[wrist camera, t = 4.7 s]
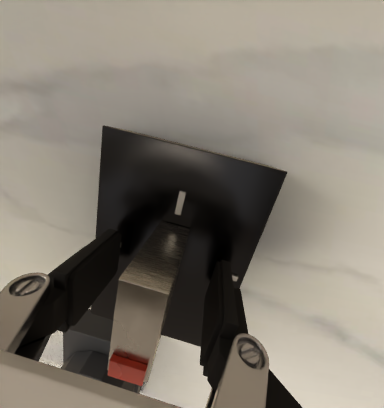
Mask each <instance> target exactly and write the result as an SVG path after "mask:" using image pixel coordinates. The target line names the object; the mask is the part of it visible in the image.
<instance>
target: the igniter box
mask: <svg viewBox="0 0 384 408" xmlns="http://www.w3.org/2000/svg"><path fill="white" fill-rule="evenodd" d="M112 328H113V320H111V319H108V318H105V317H102V316H98V315H95V314H92V313H91V310H87V311H86V313H85V314H84V315H83V316H82V318H81V319H80V320H79V322H78V323H77V324H76V325H75V326H71V327H70V328H69V329H68V331H67V332H66V333H65V332H63V366H62V367H61V369H63V370H66V371H70V372H73V373H76V374H79V375H82V376H85V377H88V378H91V379H95V380H98V381H101V382H104V383H107V384H110V385H113V386H116V387H119V388H123V389H126V390H129V391H132V392H135V393H138V394H139V392H140V388H141V386H139V385H136V384H133V383H130V382H126V381H123V380H120V379H117V378H114V377H111V376H108V370H107V369H108V360H109V352H110V344H111V336H112Z"/></svg>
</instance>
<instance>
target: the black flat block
mask: <svg viewBox="0 0 384 408" xmlns="http://www.w3.org/2000/svg"><path fill="white" fill-rule="evenodd" d="M286 175H287V172H286V171H283V170H280V169H277V168H274V167H271V166H268V165H264V164H260V163H256V162H252V161H248V160H244V159H240V158H236V157H232V156H228V155H224V154H220V153H216V152H212V151H208V150H204V149H200V148H196V147H192V146H188V145H184V144H180V143H176V142H172V141H168V140H165V139H161V138H157V137H153V136H149V135H145V134H141V133H137V132H133V131H129V130H124V129H119V128H114V127H109V126H103V130H102V146H101V162H100V178H99V194H98V210H97V226H96V238H97V237H99V236H100V235H101V234H103V233H104V232H105V231H107V230H108V229H113V230H117V231H119V234H121V245H120V253H119V262H118V269H117V272H116V274H115V276H114V277H113V278H112V280H111V281H110V282H109V283H108V285H107V286H106V287H105V288H104V290H103V291H102V292H101V294H100V295H99V296H98V297H97V299H96V300H95V301H94V302H93V304H92V306H91V313H92V314H95V315H98V316H102V317H105V318H108V319H111V320H113V319H114V311H115V303H116V295H117V287H118V279H119V278H120V276H121V275H122V274H123V272H124V271H125V270H126V268H127V267H128V266H129V264H130V263H131V261H132V260H133V259H134V257H135V256H136V255H137V253H138V252H139V251H140V249H141V248H142V246H143V245H144V244H145V242H146V241H147V240H148V238H149V237H150V236H151V234H152V233H153V232H154V230H155V229H156V227H157V226H158V225H159V223H160V222H161V221H163V222H167V223H170V224H174V225H178V226H181V227H185V228H189V229H190V230H189V234H188V238H187V242H186V245H185V249H184V253H183V257H182V261H181V265H180V269H179V273H178V276H177V280H176V284H175V288H174V292H173V295H172V299H171V302H170V306H169V309H168V313H167V316H166V320H165V323H164V326H163V330H162V333H161V335H164V336H168V337H171V338H174V339H177V340H181V341H184V342H187V343H191V344H194V345H197V346H201V340H202V326H203V312H204V299H205V295H206V292H207V289H208V286H209V283H210V280H211V277H212V274H213V271H214V268H215V265H216V262H217V261H219V262H220V260H224V261H228V262H230V263H231V270H232V278H233V285H234V287H235V288H240V285H241V283H242V281H243V278H244V276H245V273H246V271H247V269H248V266H249V264H250V261H251V259H252V256H253V254H254V252H255V249H256V247H257V244H258V242H259V240H260V237H261V235H262V232H263V230H264V228H265V225H266V223H267V220H268V218H269V215H270V213H271V211H272V208H273V206H274V203H275V201H276V199H277V196H278V194H279V191H280V189H281V187H282V184H283V182H284V179H285V177H286Z"/></svg>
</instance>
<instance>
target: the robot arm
mask: <svg viewBox="0 0 384 408" xmlns="http://www.w3.org/2000/svg"><path fill="white" fill-rule="evenodd" d="M120 245H121V234H119V231H117V230H113V229H108V230H107V231H105V232H104V233H103V234H101V235H100V236H99V237H97V238H96V239H95V240H93V241H92V242H91V243H90V244H88V245H87V246H85V247H83V248H82V249H81V250H79V251H78V252H77V253H75V254H74V255H73V256H71V257H70V258H69V259H68V260H66V261H65V262H64V263H62V264H61V265H60V266H58V267H57V268H56V269H54V270H53V271H52V272H50V273H49V274H48V275H46V274H44V273H29V274H25V275H22V276H20V277H17V278H15V279H14V280H12V281H11V282H10V283H8V284H7V285H6V286H5V287H4V288H3V290H2V291H1V292H0V408H181V407H178V406H175V405H172V404H168V403H165V402H162V401H159V400H156V399H153V398H150V397H147V396H144V395H141V394H138V393H135V392H132V391H129V390H126V389H123V388H119V387H116V386H113V385H110V384H107V383H104V382H101V381H98V380H95V379H91V378H88V377H85V376H82V375H79V374H76V373H73V372H70V371H66V370H63V369H60V368H57V367H54V366H51V365H47V364H44V363H41V362H38V361H39V359H40V357H41V355H42V353H43V351H44V349H45V346H46V344H47V342H48V340H49V338H50V336H51V334H52V333H55V332H56V331H57V330H59V331H62V332H65V333H66V332H67V331H68V329H69V328H70V327H71V326H75V325H76V324H77V323H78V322H79V320H80V319H81V318H82V316H83V315H84V314H85V313H86V311H87V310H88V309H89V308H90V306H91V305H92V304H93V302H94V301H95V300H96V299H97V297H98V296H99V295H100V294H101V292H102V291H103V290H104V288H105V287H106V286H107V285H108V283H109V282H110V281H111V280H112V278H113V277H114V276H115V274H116V272H117V269H118V262H119V253H120ZM200 365H202V366H204V369H203V375H204V376H207V377H208V382H209V384H210V385H211V387H212V389H211V392H210V395H209V398H208V401H207V404H206V407H205V408H302V407H301V406H300V404H299V403H298V402H297V401H296V400H295V399H294V397H293V396H292V395H291V394H290V393H289V392H288V390H287V389H286V388H285V387H284V386H283V385H282V383H281V382H280V381H279V380H278V379H277V378H276V376H275V375H274V374H273V373H272V372H271V371H270V369H269V358H268V355H267V352H266V350H265V348H264V347H263V345H262V344H261V343H260V342H259V341H258V340H257V339H256V338H255V337H253V336H251V335H249V334H248V329H247V324H246V318H245V313H244V307H243V301H242V296H241V291H240V289H239V288H235V287H234V285H233V278H232V270H231V263H230V262H228V261H224V260H220V262H219V261H217V262H216V265H215V268H214V271H213V274H212V277H211V280H210V283H209V286H208V289H207V292H206V295H205V299H204V312H203V326H202V340H201V355H200Z"/></svg>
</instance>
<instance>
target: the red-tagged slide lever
mask: <svg viewBox="0 0 384 408" xmlns="http://www.w3.org/2000/svg"><path fill="white" fill-rule="evenodd" d="M189 230H190V229H189V228H185V227H181V226H178V225H174V224H170V223H167V222H163V221H161V222H160V223H159V225H158V226H157V227H156V229H155V230H154V232H153V233H152V234H151V236H150V237H149V238H148V240H147V241H146V242H145V244H144V245H143V246H142V248H141V249H140V251H139V252H138V253H137V255H136V256H135V257H134V259H133V260H132V261H131V263H130V264H129V266H128V267H127V268H126V270H125V271H124V272H123V274H122V275H121V276H120V278H119V279H118V287H117V295H116V303H115V311H114V319H113V328H112V336H111V344H110V352H109V360H108V369H107V370H108V376H111V377H114V378H117V379H120V380H123V381H126V382H130V383H133V384H136V385H139V386H143V382H148V378H149V375H150V371H151V368H152V365H153V361H154V358H155V354H156V351H157V347H158V344H159V340H160V337H161V333H162V330H163V326H164V323H165V320H166V316H167V313H168V309H169V306H170V302H171V299H172V295H173V292H174V288H175V284H176V280H177V276H178V273H179V269H180V265H181V261H182V257H183V253H184V249H185V245H186V242H187V238H188V234H189Z"/></svg>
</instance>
